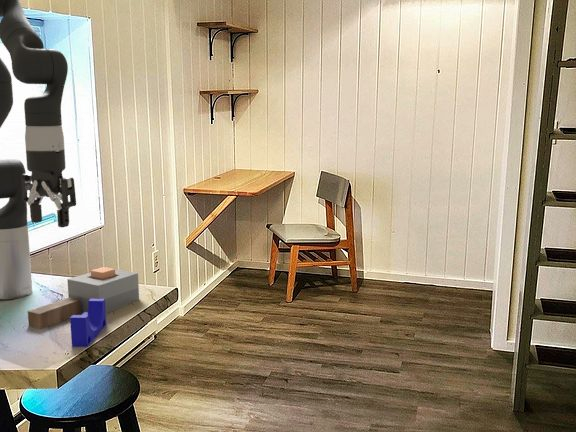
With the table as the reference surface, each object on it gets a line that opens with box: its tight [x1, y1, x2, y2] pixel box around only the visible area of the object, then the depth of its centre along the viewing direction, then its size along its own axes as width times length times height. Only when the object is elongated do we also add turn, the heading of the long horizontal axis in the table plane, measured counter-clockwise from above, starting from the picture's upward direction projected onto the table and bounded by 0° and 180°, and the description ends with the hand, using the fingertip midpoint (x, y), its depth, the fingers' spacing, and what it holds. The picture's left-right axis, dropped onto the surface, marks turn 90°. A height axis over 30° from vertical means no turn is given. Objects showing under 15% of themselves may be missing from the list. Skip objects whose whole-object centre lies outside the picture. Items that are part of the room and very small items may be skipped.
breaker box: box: [67, 267, 140, 315], centre depth 148 cm, size 10×12×7 cm
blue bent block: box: [69, 299, 107, 348], centre depth 129 cm, size 12×4×6 cm, turn 179°
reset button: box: [90, 266, 116, 280], centre depth 147 cm, size 4×4×3 cm
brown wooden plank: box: [27, 297, 82, 330], centre depth 138 cm, size 4×4×11 cm
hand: (50, 224), depth 136 cm, fingers open, 8 cm apart
